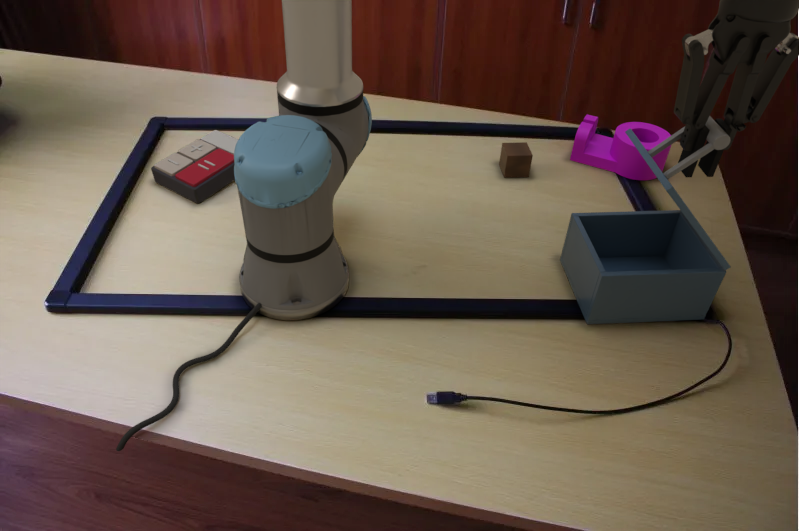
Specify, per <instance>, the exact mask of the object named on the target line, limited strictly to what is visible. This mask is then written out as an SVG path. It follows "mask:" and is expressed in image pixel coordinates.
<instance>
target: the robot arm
mask: <svg viewBox="0 0 799 531" xmlns="http://www.w3.org/2000/svg"><path fill="white" fill-rule="evenodd" d="M352 2H353V0H281V10H282V23H283V36H284V49H285V51H284V52H285V61H286V71H285V72H284V73H283V74H282V76H280V77H279V78H278V80H277V82H276V95H277V108H278V115H276V116H275V115H274V116H271V117H268V118H266V121H261V120H260V121H257V122H255V123H254V124H252V125H251V126H249V127H248V128H246V129H245V130H244V131H243V133H241V135H240V136H239V138H238V139H239V140H238V141H237V143H236V146H235V150H234V163H235V165H234V176H235V180H234V182H235V185H236V187H237V188H236V189H237V193H238V199H239V203H240V211H241V216H242V222H243V228H244V233H245V240H246V247H245V251H244V254H243V260H242V264H241V267H240V271H239V276H238V280H239V286H240V292H241V297H242V299H243V300H244V301H245V303H246V305H247V306H248V307H250V309H251V310H250V311H249V313H247V314H246V315H245V317H244V318H243V319H242V320H241V321H240V322H239V324H238V325H237V326H236V327H235V328H234V330H233V331H232V332H231V333H230V335H229V337H228V338H227V339H226V340H225V342H224V343H223V344H222V345H220V347H218V348H217V349H215V350H214V351H213V352H210V353H208V354H205V355H201V356H198V357H194V358H192V359H189V360H188V361H187V360H186V362H184V363H182V364H181V365H179V367H178V368H177V369H176V370H175V372H174V374H173V377H172V399H171V401H170V402H169V403H168V405H167V406H166V407H165V408H164V409H162V410H161V411H160V412H158V413H157V414H155V415H153V416H151V417H149V418H147V419H144V420H142V421H141V422H138V423H137V424H135V425H133V426H132V427H131V428H130V429H128V430H127V431H126V433H124V435H123V436H122V437H121V439H120V440H119V442H118V444H117V446H116V448H115V449H116V452H120V451H121V452H122V451H123V450H124V448H125V446H126V445H127V443H128V441H130V439H131V438H132V437H133V436H134V435H135V434H136V433H137V432H139V431H141V430H143V429H145V428H147V427H148V426H151V425H152V424H155V423H157V422H159V421H161V420H162V419H164V418H165V417H167V416H168V415H169V414H171V413H172V412H173V410H174V409H175V408H176V406H177V405H178V402H179V400H180V378H181V375H182V374H183V373H184V372H185V371H186V370H187V369H189V368H190V367H192V366H194V365H195V366H196V365H197V364H201V363H205V362H208V361H211V360H213V359H215V358H217V357H219V356H220V355H222V354H223V353H224V352H225V351H227V349H228V348H229V347H230V346H231V344H233V342H234V341H235V339H236V338H237V337H238V335H239V334H240V333H241V331H242V330H243V329H244V328H245V327H246V325H247V324H248V323H249V322H250V321H251V320H252V319H253V318H254V317H255V316H256V314H257V313H258V314H260V315H262V316H264V317H267V318H270V319H275V320H281V321H301V320H306V319H311V318H313V317H317V316H319V315H322V314H325V313H327V312H328V311H330V310H332V309H333V308H334V307H336V305H338V304H339V303H340V302H341V301H342V299H343V298H344V297H345V296H346V294H347V292H348V289H349V285H350V270H349V265H348V262H347V259H346V258H345V255H343V252H342V246H340V245H339V243H338V241H337V239H336V237H335V230H334V226H335V224H334V199H335V195H336V194H337V192H338V190H339V189H340V187H341V185H342V184H343V182H344V180H345V179H346V177H347V175H348V174H349V172H350V170H351V168H352V167H353V165H354V163H355V162H356V160H357V158H358V157H359V156H360V155H361V153H362V152H363V150H364V149H365V147H366V146H367V142H368V141H369V138H370V135H371V130H372V124H373V117H372V116H373V115H372V110H371V106H370V103H369V101H368V99H367V97H366V96H365V95H364V83H363V80H362V78H360V76H358V75H357V73H355V72H354V70H353V25H352V24H353V11H352V10H353V9H352V8H353V3H352ZM718 5H719V6H718V9H717V14H716V15H715V17H714V18H713V19H712V20H711V22H710V23H709V25H708V27H707V29H706V30H704V31H701V32H700V33H697V34H694V35H693V34H691V33H686V34H684V36H683V37H682V38H681V45H682V50H683V59H682V65H681V70H680V76H679V81H678V86H677V91H676V97H675V101H674V108H673V114H674V115H675V116H676V117H677V119H679V121H680V122H681V123H682V124H683V125H685V126H684V127H685V128H684V131H683V135H682V138H680V139H679V146H680V147H681V148H682V151H681V153H680V156H679V159H678V162H677V164H678V163H679V162H681V161H682V160H684V159H685V158H687V157H688V156H690V155H691V154H693V153H694V152H696V151H698V150H699V149H701V148H702V147H704V146H705V145H707V144H708V143H709V142H708V141H707V140H706V139H707V136H708V133H709V131H710V130H709V129H708V128H707V127H706V125H705V124H706V122H707V120H708V118H709V116H711V114H712V112H713V109H714V108H715V106H716V104H717V101H718V99H719V98H720V95H721V92H722V91H723V89H724V87H725V85H726V83H727V81H728V79H729V77H730V75H733V74H734V76H733V80H732V84H731V87H730V91H729V94H728V98H727V101H726V106H725V108H724V110H723V111H724V112H723V118H724V119H722V118H715V119H714V121H715V122H716V123H717V124H718V125H719V126H720V127H721V128H722V129H723V130H724V131H725V132H726V134H727V135H728V136H729V137H730V143H729V145H728V146H727V147H726V148H724V149H722V150H716V149H714V150H712V151H711V152H709V153H708V154H706V155H705V156H703V157H702V158H700V159H699V160H697V161H695V162H694V163H692V164H691V165H689V166H688V167H686V168H685V169H683V170H682V171H680V172H681V173H682V174H683V176H684V177H685V178H693V175H694V173H695V170H696V167H699V169H700V170H701V171H702V172H703V174H704V175H705V176H706V178H713V177H714V175H715V173H716V171H717V168H718V165H719V163H720V161H721V159H722V156H723V154H724V151H728V150H729V149H730V148H731V147H732V144H733V141H734V139H735V137H736V135H737V132H743V131H744V130H745V129H746V128H747V125H746V124H747V123H751V124H755V123H757V122H759V120H760V119H761V117H762V115H763V114H764V112H765V111H766V108H767V107H768V105H769V103H770V101H771V100H772V98H773V97H774V95H775V93H776V91H777V90H778V88H779V86H780V85H781V83H782V81H783V79H784V77H785V76H786V74H787V72H788V71H789V69H790V67H791V65H792V64H793V62H794V61H796V59H798V57H799V36H798V35H797V34H795V33H794V32H791V29H792V27H791V20H794V18H795V17H796V16H797V14H798V12H799V0H719V2H718ZM710 44H711V45H712V48H713V50H712V52H711V55H710V57H709V59H708V62H709V65H708V67H707V70H706V72H705V74H704V76H703V72H704V67H705V56H706V55H707V54H708V53H709V46H710ZM734 72H735V73H734ZM702 76H703V78H702Z"/></svg>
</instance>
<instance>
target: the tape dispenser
mask: <svg viewBox="0 0 799 531" xmlns="http://www.w3.org/2000/svg"><path fill="white" fill-rule="evenodd" d="M598 123H599V116H595V115H591V114H588V113H587V114H586V115H585V116H584V118H583V121H581V122H580V124H579V126H578V127H577V130H576V133H575V137H574V140H573V144H572V149H571V153H570V158H569V161H571V162H574V163H575V162H576V163H578V164H583V165H587V166H590V167H593V168H597V169H601V170H605V171H608V172H612V173H615V174H617V175H619V176H620V177H623V178H626V179H629V180H634V181H635V180H636V181H651V180H655V179H658V178H657V177H656V175H655V174H654V173H653V171H652V170H651V168H650V167H649V165H648V164H647V163H646V161H645V160H644V158H643V157H642V155H641V154H640V153H639V151H638V150H637V148H636V147H635V146H634V144H633V143H632V141H631V140H630V138H629V137H628V136H627V134H626V133H625V131H627V130H628V129H630V128H631V130H632V131H633V132H634V134H635V135H636V136H637V138H638V139H639V141H640V142H641V143H642V145H643V146H644V147H645V149H646V150H647V152H648V151H649V150H651V149H652V148H654V147H655V146H657V145H658V144H660V143H661V142H663V141H664V140H666V139H667V138H669V137H670V136H671V135H672V134H670V132H668V131H667V130H666V129H665V128H662V127H661V126H658V125H655V124H652V123H648V122H644V121H643V122H641V121H628V122H623V123H620V124H619V125H618V126H617V127H616V128H615V131H614V135H613V137H609V136H606V135H602V134H598V133H596V131H597V127H598ZM672 146H673V144H671V145H670V146H668V147H667V148H665V149H664V150H662V151H661V152H660V153H658V154H657V155H655V156H654V157H652V159H653V160H654V161H655V163H656V164H657V165H658V167H659V168H660V170H661V171H662V172H663V171H664V169H665V165H666V162H667V159H668V156H669V154H670V151H671V148H672Z"/></svg>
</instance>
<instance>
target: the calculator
mask: <svg viewBox="0 0 799 531" xmlns="http://www.w3.org/2000/svg"><path fill="white" fill-rule="evenodd" d="M238 140H239V138H237V137H234V136H232V135H229V134H227V133H225V132H222V131H221V130H217V129H214V130H212V131H209V133H206V134H205V135H204V136H202V137H201V138H197V139H195V140H193V141H192V142H190V143H188V144H186V145H185V146H183V147H181V148H180V149H178V150H177V152H172V153H171V154H169V155H168V156H165V157H164V158H163V159H161V160H159V161H157V162H156V163H154V164H153V166H151V167H150V170H151V173H152V176H153V179H154V182H155V184H158V185H160V186H162V187H163V188H166V189H167V190H170V191H171V192H173V193H175V194H177V195H179V196H181V197H183V198H185V199H187V200H188V201H191V202H193V203H195V204H201V203H202V202H204V201H205V200H207V199H208V198H210V197H211V196H213V195H214V194H216V193H217V192H218V191H221V190H222V189H223V188H225V187H226V186H228V185H229V184H231V183H232V182H235V176H234V165H235V163H234V150H235V146H236V143H237V141H238Z"/></svg>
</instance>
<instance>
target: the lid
mask: <svg viewBox="0 0 799 531" xmlns="http://www.w3.org/2000/svg"><path fill="white" fill-rule="evenodd" d="M705 125H706V127H707V128H708V129H709V130H710V131H709V133H708V136H707V139H706V142H707V141H708V142H709V143H708V144H707V145H706V144H704V146H703V147H702V148H701V149H699V150H698V151H696V152H694V153H693V154H691V155H690V156H688V157H687V158H685V159H684V160H682V161H681V162H679V163H678V162H677V164H674V165H673V166H671V167H670V168H669V169H667V170H666V171H664V172H663V171H661V170H660V168H659V167H658V165H657V164H656V163H655V161H654V160H653V159H652V157H654V156H655V155H657V154H658V153H660V152H661V151H662V150H664V149H665V148H667V147H668V146H670V145H671V144H672V145H673V144H675V143H676V142H677V141H680V140H681V138H682V135H683V131H684V128H685V126H683V127H682V128H680V129H679V130H677V131H675V132H674V133H673V134H670V135H671V136H670V137H669V138H667V139H666V140H664V141H663V142H661V143H660V144H658V145H657V146H655V147H654V148H652V149H651V150H649V151H648V152H647V150H646V149H645V147H644V146H643V145H642V143H641V142H640V141H639V139H638V138H637V136H636V135H635V134H634V132H633V131H632V130H631V128H630V129H628V130H627V131H625V133H626V134H627V136H628V137H629V138H630V140H631V141H632V143H633V144H634V146H635V147H636V148H637V150H638V151H639V153H640V154H641V155H642V157H643V158H644V160H645V161H646V163H647V164H648V165H649V167H650V168H651V170H652V171H653V173H654V174H655V175H656V177H657V178H656V179H657V180H658V181H659V183H660V184H661V185H662V187H663V189H664V190H665V191H666V193H667V194H668V196H670V198H671V199H672V201H673V203H674V204H675V205H676V206H677V207H678V210H681V211H682V213H683V214H684V215H685V217H686V218H687V220H688V221H689V222H690V224H691V225H692V226H693V228H694V229H695V230H696V232H697V233H698V234H699V236H700V237H701V238H702V240H703V241H704V243H705V244H706V245H707V247H708V248H709V249H710V251H711V252H712V253H713V255H714V256H715V257H716V259H717V260H718V261H719V263H720V264H721V266H722V267H723V268H724V270H726V271H727V270H729V269H730V268H731V265H730V263H729V262H728V261H727V260H726V258H725V256H724V255H723V254H722V252H721V251H720V250H719V249H718V247H717V245H716V244H715V243H714V242H713V240H712V238H711V237H710V236H709V234H708V233H707V232H706V230H705V229H704V227H703V226H702V224H701V223H700V222H699V221H698V219H697V218H696V216H695V214H693V212H692V210H691V209H690V208H689V207H688V205H687V204H686V202H685V201H684V200H683V198H682V197H681V195H680V194H679V193H678V192H677V190H676V189H675V187H674V186H673V185H672V183H671V182H670V181H669V180H670V179H671V178H672V177H674V176H676V175H677V174H679V173H680V172H681V171H682V170H683V169H685V168H686V167H688V166H689V165H691V164H692V163H694V162H695V161H697V160H698V161H700V158H702V157H703V156H705V155H706V154H708V153H709V152H711V151H712V150H714V149H716V150H722V149H724V148H726V147H727V146H728V145H729V143H730V137H729V136H728V135H727V134H726V132H725V131H724V130H723V129H722V128H721V127H720V126H719V125H718V124H717V123H716V122H715V119H714V118H713V117H712V116H711V115H710V116H709V118H708V120H707V122H706V124H705ZM672 145H671V146H672Z"/></svg>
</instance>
